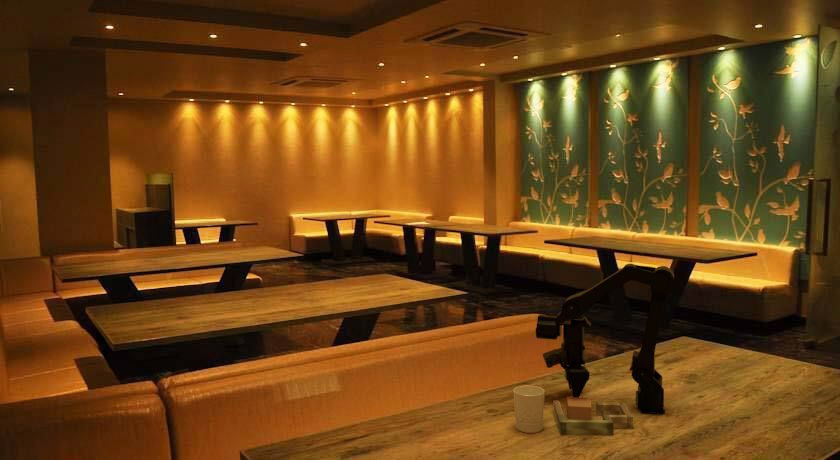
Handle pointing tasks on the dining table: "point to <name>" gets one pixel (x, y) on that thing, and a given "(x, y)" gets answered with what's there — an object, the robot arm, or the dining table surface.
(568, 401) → the block
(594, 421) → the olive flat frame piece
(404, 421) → the dining table surface
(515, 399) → the white cup
